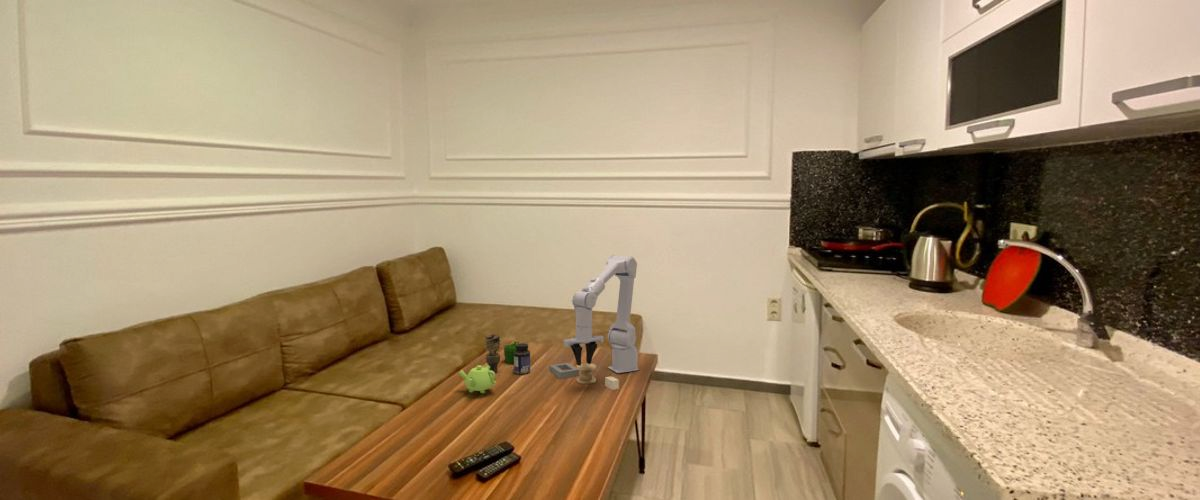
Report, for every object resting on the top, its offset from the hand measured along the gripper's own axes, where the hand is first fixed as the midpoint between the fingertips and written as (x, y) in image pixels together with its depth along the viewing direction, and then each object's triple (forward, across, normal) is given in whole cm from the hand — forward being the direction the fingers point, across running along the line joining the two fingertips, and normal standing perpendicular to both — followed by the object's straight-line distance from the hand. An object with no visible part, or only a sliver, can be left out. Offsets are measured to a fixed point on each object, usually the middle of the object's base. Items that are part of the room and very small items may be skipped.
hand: (583, 364), depth 179 cm
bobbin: (+8, -4, -6) cm, 11 cm away
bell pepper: (+9, +12, -37) cm, 40 cm away
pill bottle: (+9, +14, -25) cm, 30 cm away
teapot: (+9, +34, -15) cm, 38 cm away
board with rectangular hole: (+8, 0, -17) cm, 19 cm away
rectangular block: (+9, -9, +4) cm, 13 cm away
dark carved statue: (+9, +24, -30) cm, 39 cm away
